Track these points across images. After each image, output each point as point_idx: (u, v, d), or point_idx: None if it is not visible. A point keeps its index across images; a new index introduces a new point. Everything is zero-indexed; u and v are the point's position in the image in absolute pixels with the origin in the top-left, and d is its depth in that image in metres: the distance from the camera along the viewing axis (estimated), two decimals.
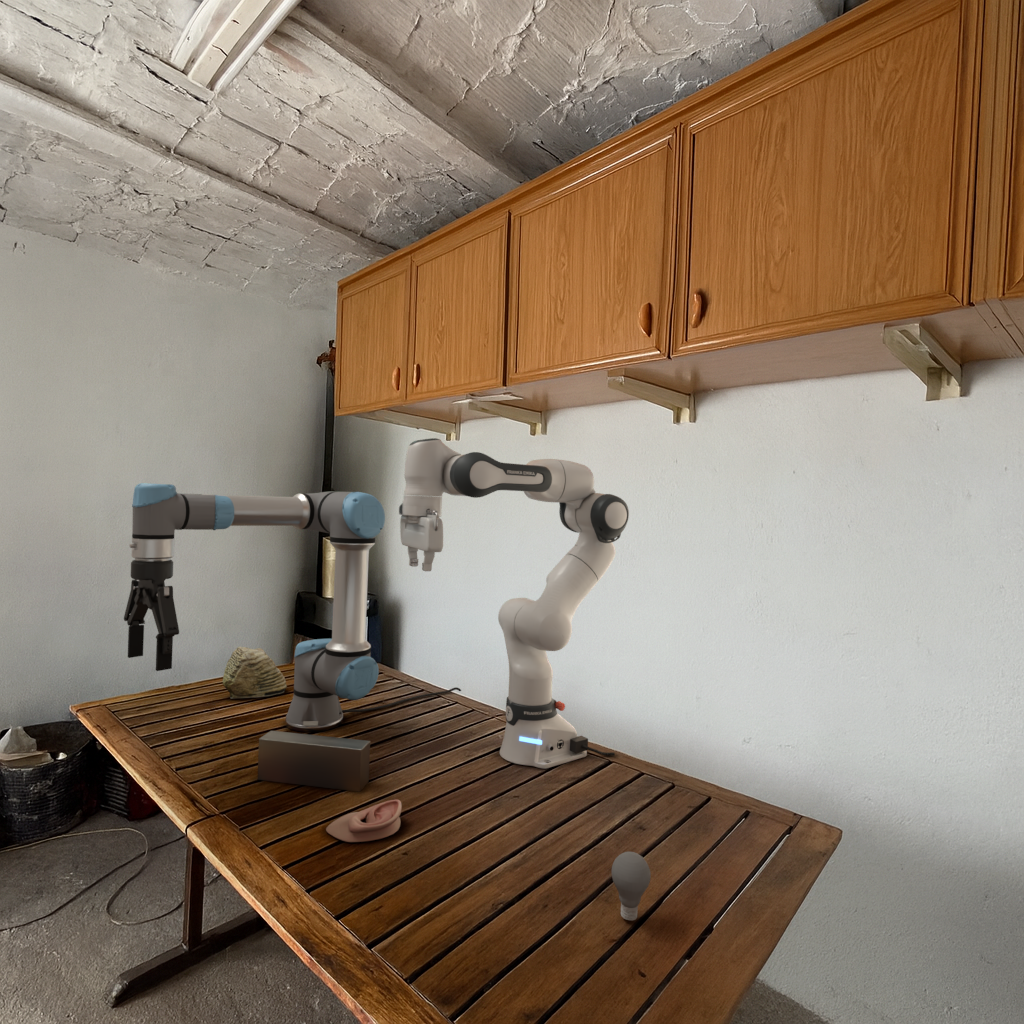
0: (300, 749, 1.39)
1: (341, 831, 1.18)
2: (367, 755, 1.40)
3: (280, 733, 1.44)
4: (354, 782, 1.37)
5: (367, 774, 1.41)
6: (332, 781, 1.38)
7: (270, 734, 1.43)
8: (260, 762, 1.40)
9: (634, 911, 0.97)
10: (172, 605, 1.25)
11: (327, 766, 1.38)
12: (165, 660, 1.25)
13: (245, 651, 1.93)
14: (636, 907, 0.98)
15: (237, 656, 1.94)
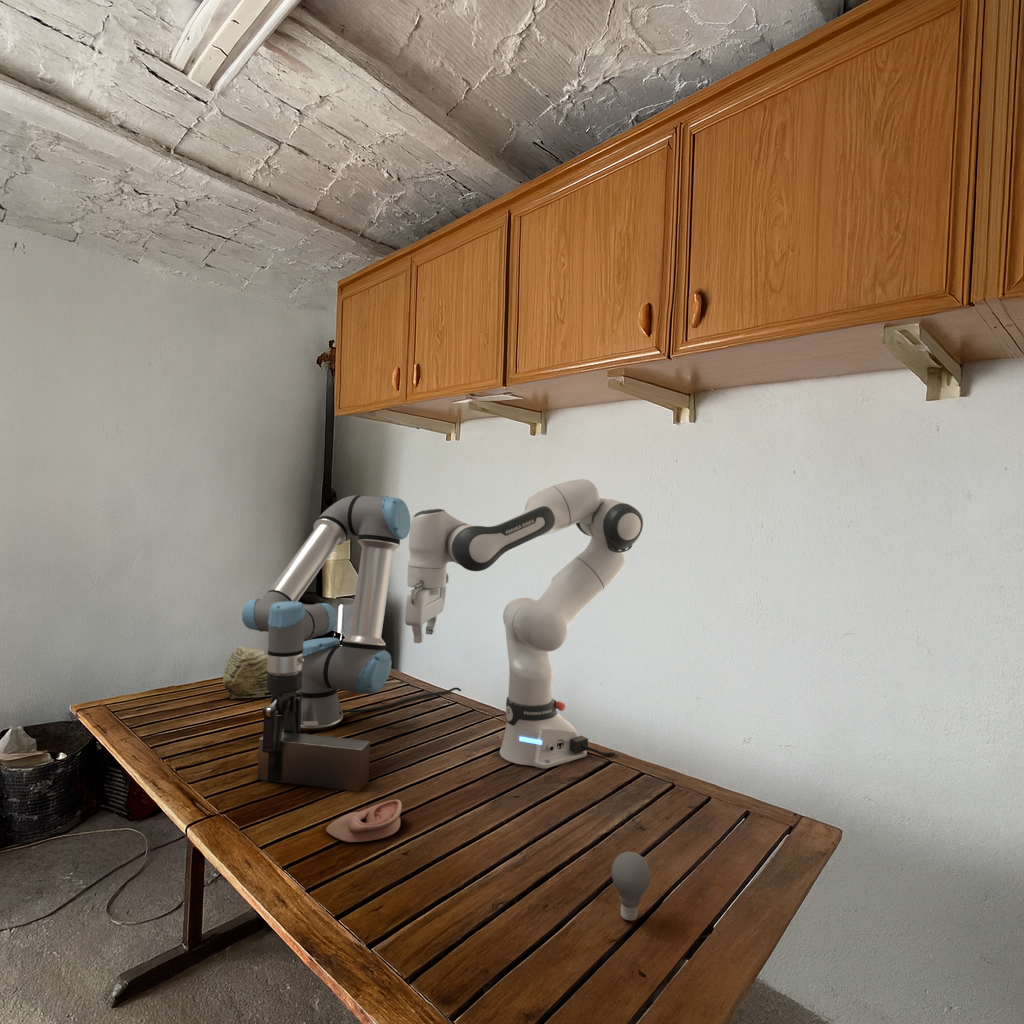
0: (300, 749, 1.39)
1: (341, 831, 1.18)
2: (367, 755, 1.40)
3: None
4: (354, 782, 1.37)
5: (367, 774, 1.41)
6: (332, 781, 1.38)
7: None
8: (260, 762, 1.40)
9: (634, 911, 0.97)
10: None
11: (327, 766, 1.38)
12: None
13: (245, 651, 1.93)
14: (636, 907, 0.98)
15: (237, 656, 1.94)
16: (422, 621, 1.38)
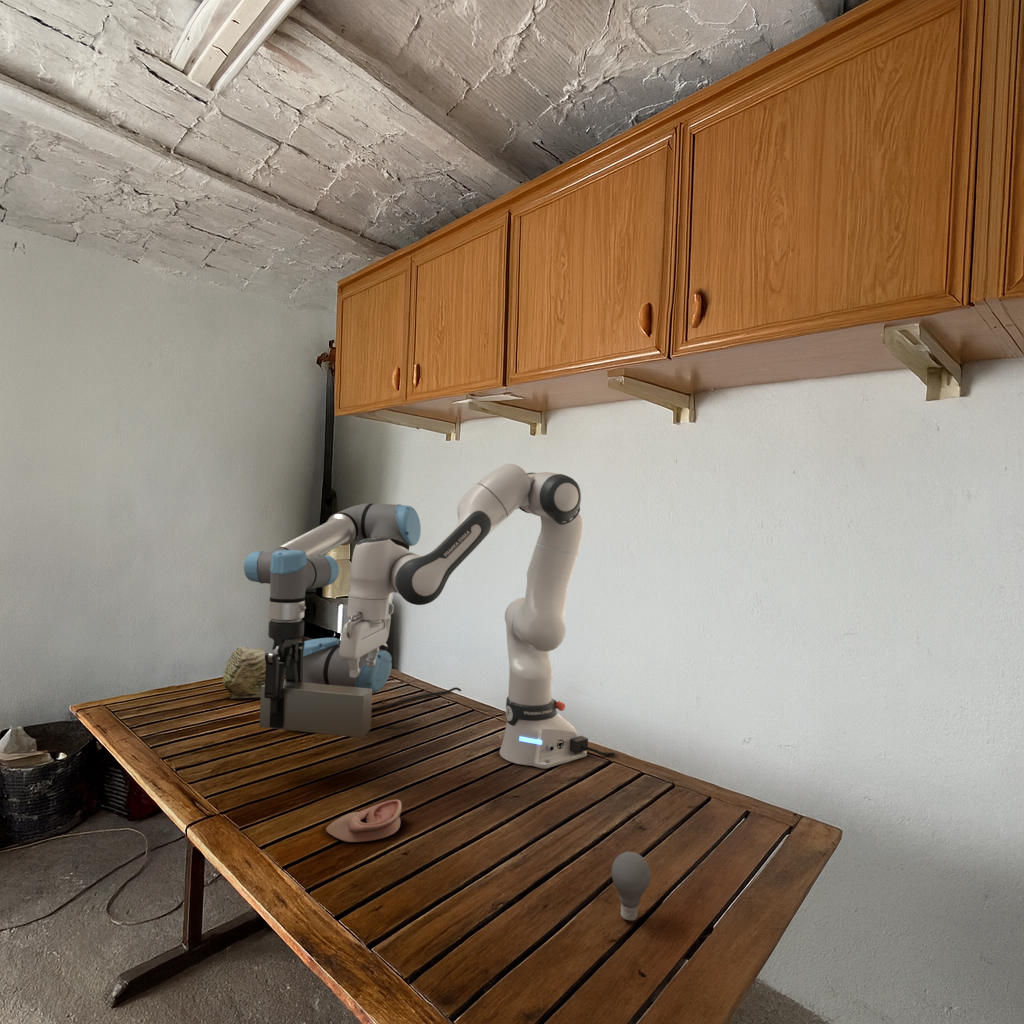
0: (302, 696, 1.38)
1: (341, 831, 1.18)
2: (369, 702, 1.40)
3: None
4: (356, 728, 1.37)
5: (369, 721, 1.41)
6: (335, 728, 1.37)
7: None
8: (262, 709, 1.40)
9: (634, 911, 0.97)
10: None
11: (329, 712, 1.38)
12: None
13: (245, 651, 1.93)
14: (636, 907, 0.98)
15: (237, 656, 1.94)
16: (358, 655, 1.32)
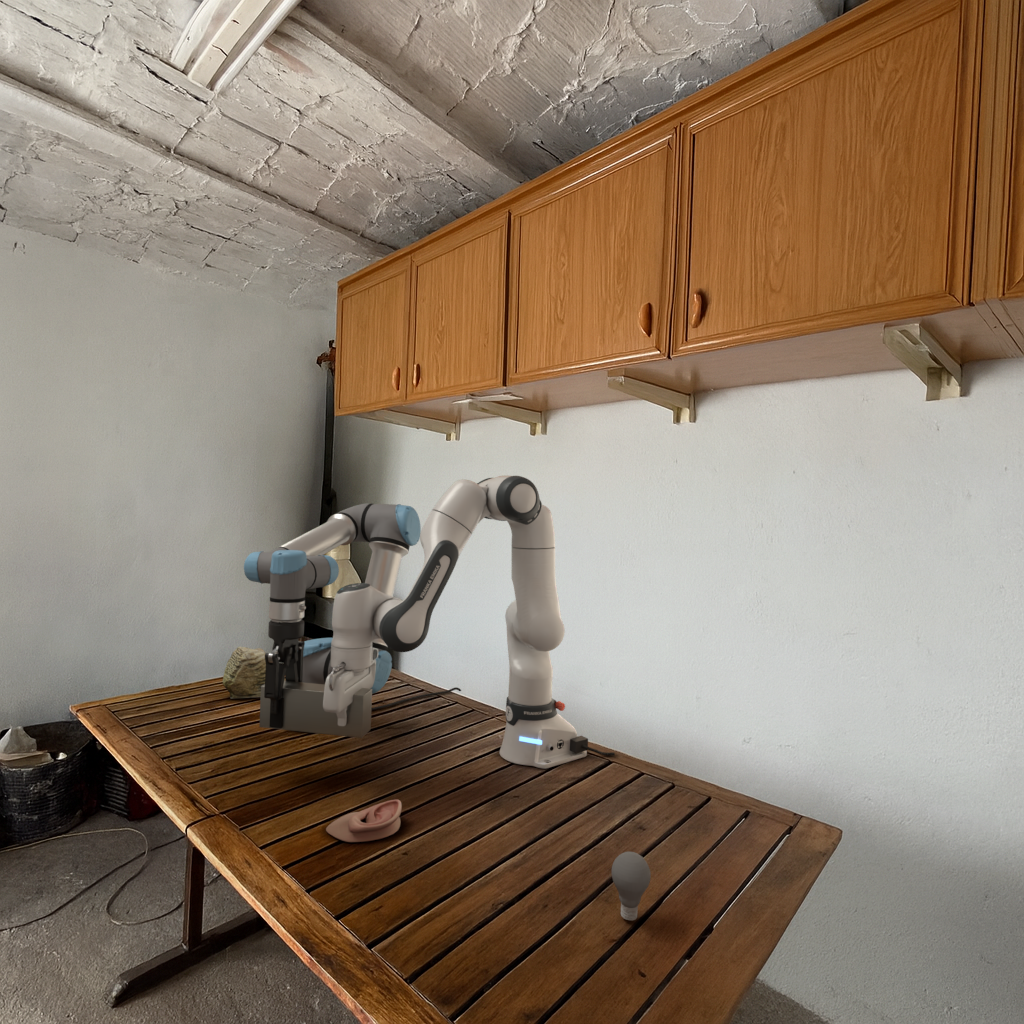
0: (302, 696, 1.38)
1: (341, 831, 1.18)
2: (369, 702, 1.40)
3: None
4: (356, 728, 1.37)
5: (369, 721, 1.41)
6: (334, 728, 1.37)
7: None
8: (262, 709, 1.40)
9: (634, 911, 0.97)
10: None
11: (329, 712, 1.38)
12: None
13: (245, 651, 1.93)
14: (636, 907, 0.98)
15: (237, 656, 1.94)
16: (342, 707, 1.31)
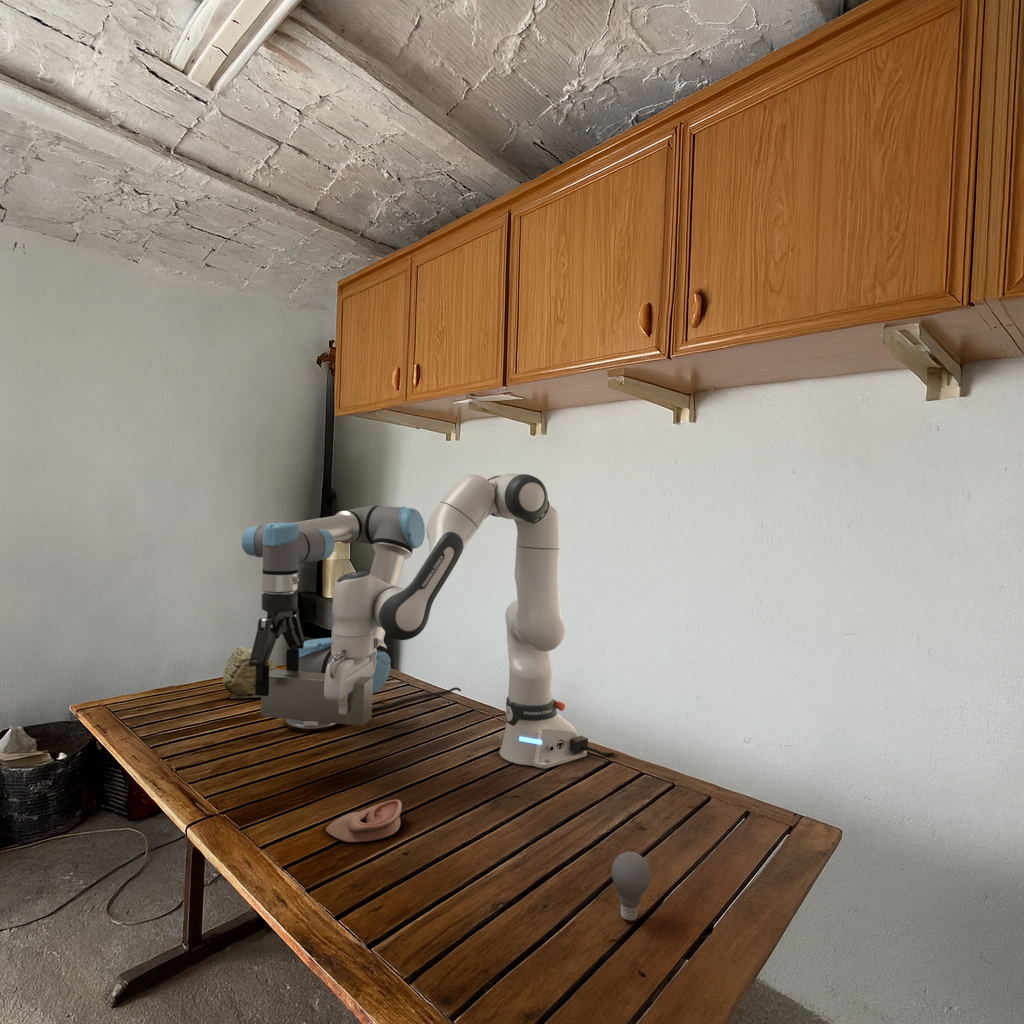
0: (303, 685, 1.38)
1: (341, 831, 1.18)
2: (370, 691, 1.40)
3: (283, 671, 1.43)
4: (357, 716, 1.37)
5: (370, 710, 1.41)
6: (336, 716, 1.37)
7: (273, 671, 1.43)
8: (263, 698, 1.40)
9: (634, 911, 0.97)
10: None
11: (330, 701, 1.38)
12: None
13: (245, 651, 1.93)
14: (636, 907, 0.98)
15: (237, 656, 1.94)
16: (342, 695, 1.31)
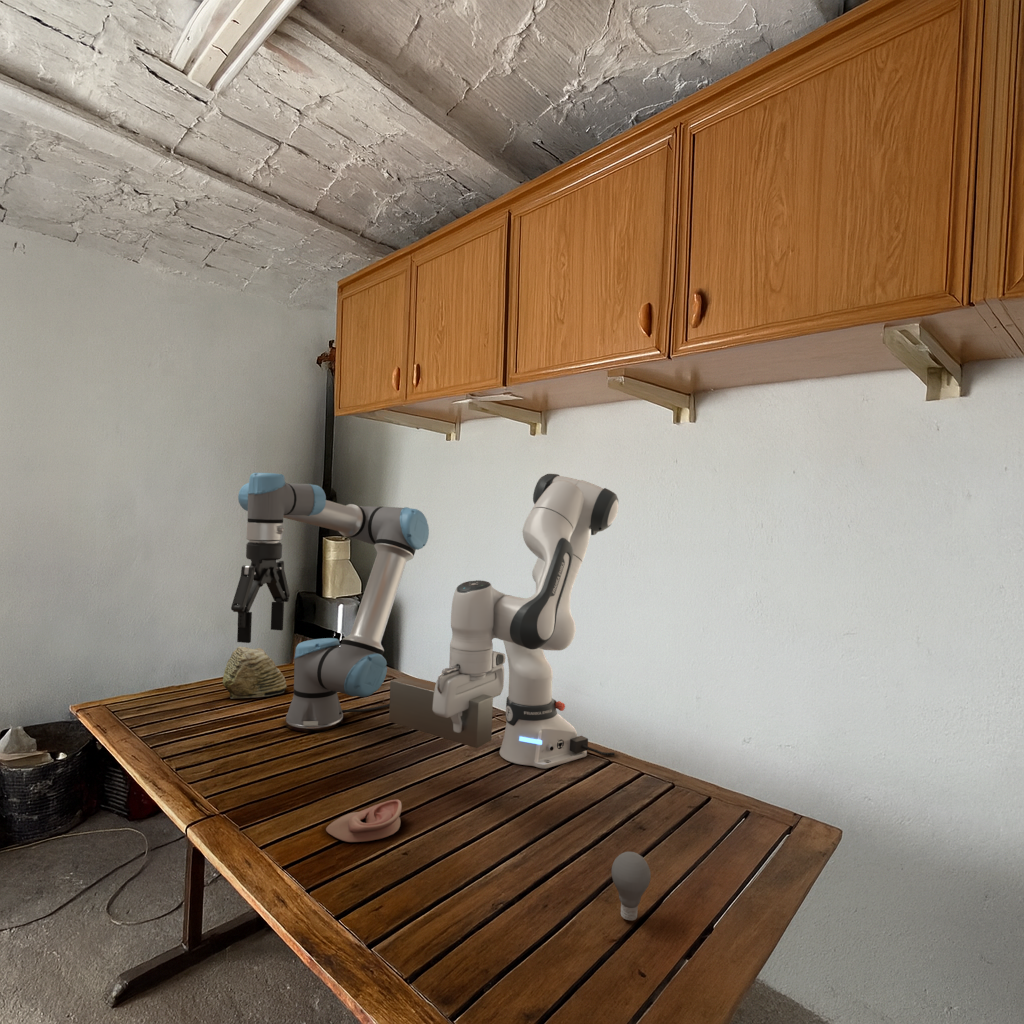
0: (424, 695, 1.34)
1: (341, 831, 1.18)
2: (488, 711, 1.29)
3: (412, 678, 1.41)
4: (471, 737, 1.27)
5: (488, 732, 1.30)
6: (452, 733, 1.30)
7: (403, 678, 1.41)
8: (391, 704, 1.39)
9: (634, 911, 0.97)
10: None
11: None
12: None
13: (245, 651, 1.93)
14: (636, 907, 0.98)
15: (237, 656, 1.94)
16: (451, 712, 1.23)
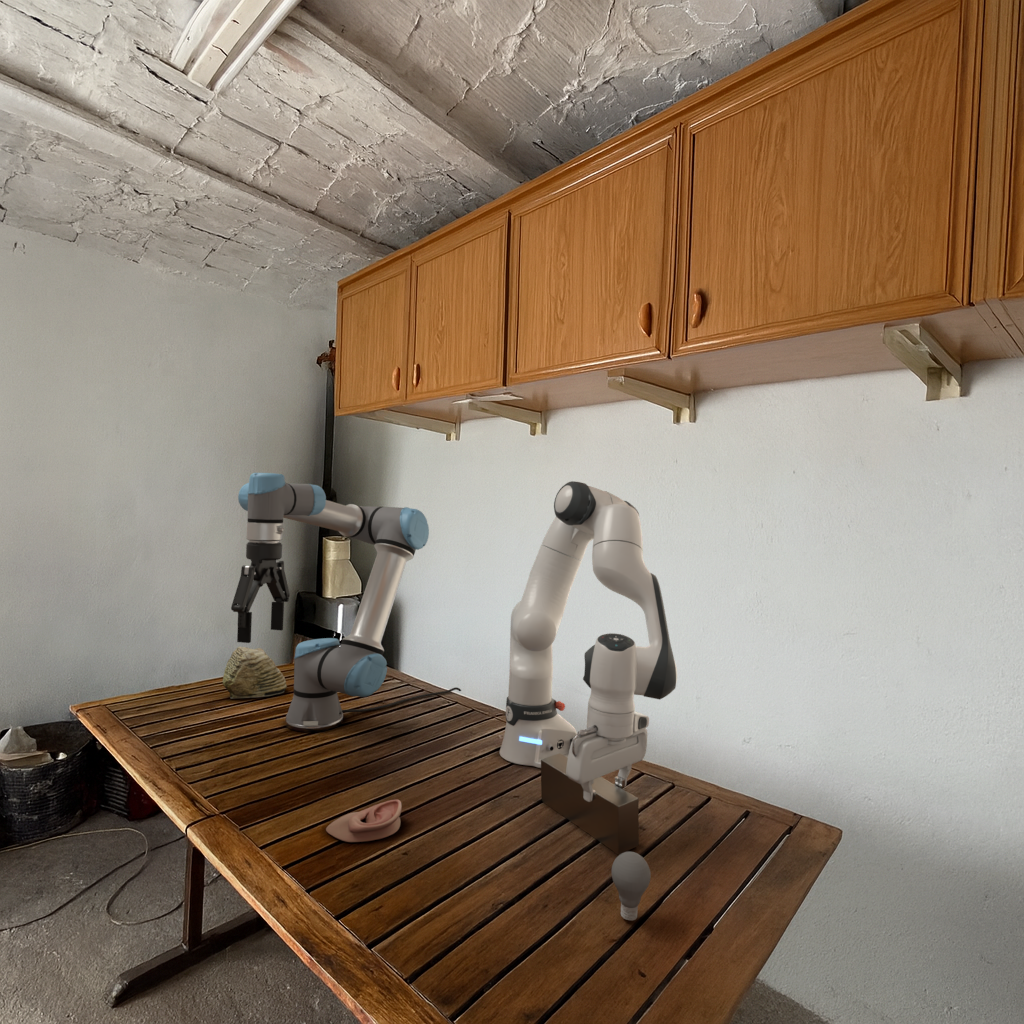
0: (570, 784, 1.28)
1: (341, 831, 1.18)
2: (632, 814, 1.18)
3: (563, 759, 1.36)
4: (613, 841, 1.17)
5: (634, 836, 1.19)
6: (596, 831, 1.21)
7: (554, 757, 1.36)
8: (542, 784, 1.36)
9: (634, 911, 0.97)
10: None
11: (591, 812, 1.22)
12: None
13: (245, 651, 1.93)
14: (636, 907, 0.98)
15: (237, 656, 1.94)
16: (586, 778, 1.14)
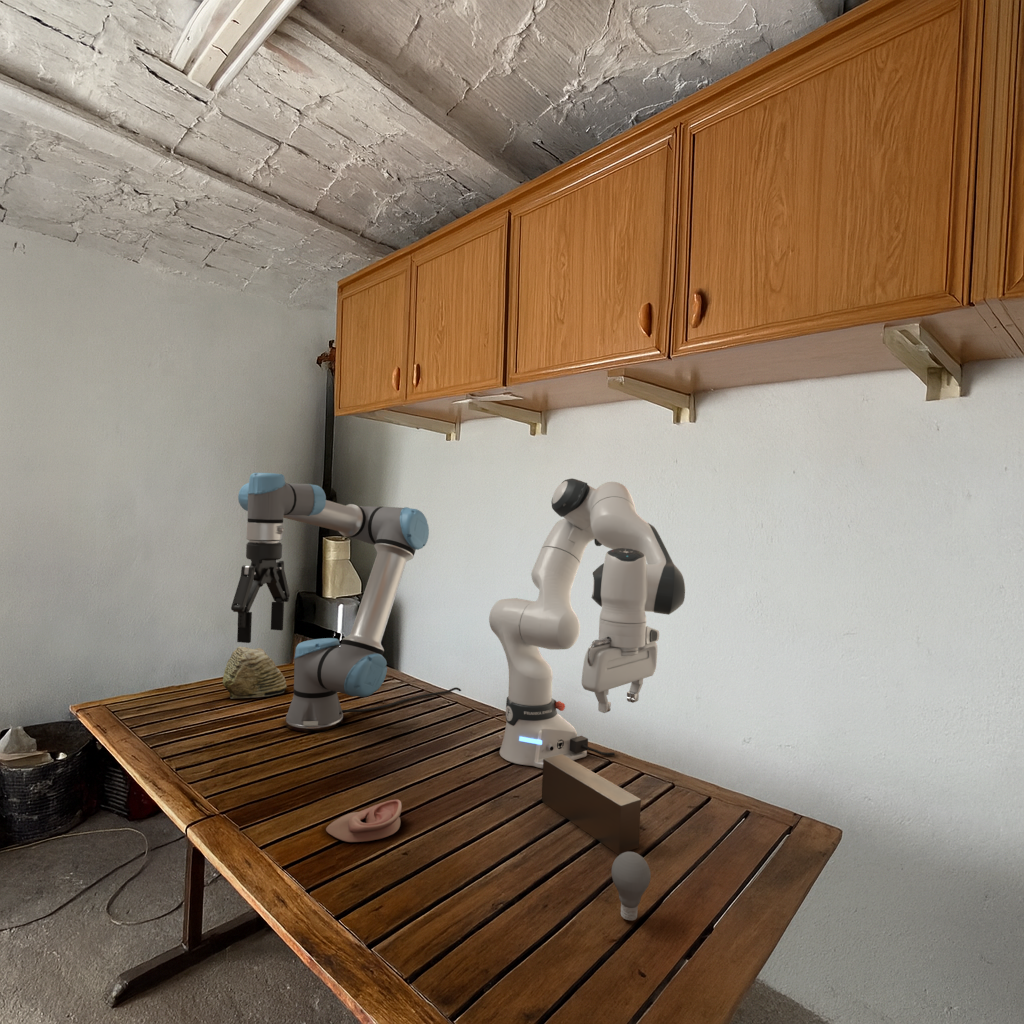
0: (572, 783, 1.28)
1: (341, 831, 1.18)
2: (634, 815, 1.18)
3: (566, 759, 1.36)
4: (614, 841, 1.18)
5: (635, 838, 1.19)
6: (596, 831, 1.22)
7: (557, 757, 1.37)
8: (543, 783, 1.36)
9: (634, 911, 0.97)
10: None
11: (592, 811, 1.23)
12: None
13: (245, 651, 1.93)
14: (636, 907, 0.98)
15: (237, 656, 1.94)
16: (602, 687, 1.14)
